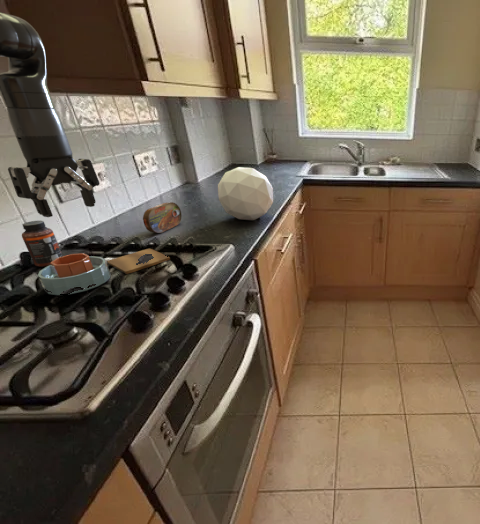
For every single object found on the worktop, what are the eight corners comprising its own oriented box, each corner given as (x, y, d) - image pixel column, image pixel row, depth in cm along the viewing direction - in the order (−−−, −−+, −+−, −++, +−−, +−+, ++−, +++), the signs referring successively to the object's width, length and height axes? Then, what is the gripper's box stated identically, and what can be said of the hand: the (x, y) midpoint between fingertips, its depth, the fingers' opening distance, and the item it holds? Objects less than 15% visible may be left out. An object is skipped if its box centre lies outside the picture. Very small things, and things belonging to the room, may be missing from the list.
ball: (263, 236, 128) (274, 203, 113) (208, 221, 121) (212, 183, 107) (272, 202, 139) (283, 167, 124) (222, 186, 132) (227, 147, 118)
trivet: (126, 274, 83) (125, 271, 83) (107, 263, 89) (106, 260, 89) (170, 259, 92) (169, 257, 91) (150, 250, 97) (149, 248, 97)
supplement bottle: (66, 262, 89) (50, 222, 84) (36, 269, 85) (17, 228, 80) (62, 256, 92) (46, 217, 88) (33, 262, 88) (15, 222, 84)
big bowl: (57, 302, 71) (49, 284, 69) (38, 286, 77) (30, 269, 75) (119, 281, 80) (114, 264, 78) (98, 268, 86) (93, 252, 84)
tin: (154, 236, 107) (147, 211, 104) (145, 236, 108) (138, 211, 104) (184, 222, 121) (179, 199, 117) (176, 221, 121) (171, 199, 118)
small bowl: (67, 291, 74) (57, 267, 72) (57, 283, 78) (47, 260, 75) (100, 280, 79) (92, 257, 77) (89, 273, 83) (81, 251, 80)
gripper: (67, 130, 73) (91, 201, 80) (-18, 134, 61) (19, 218, 68) (91, 131, 71) (114, 205, 78) (7, 136, 59) (43, 222, 66)
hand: (70, 211), depth 73 cm, fingers open, 8 cm apart
